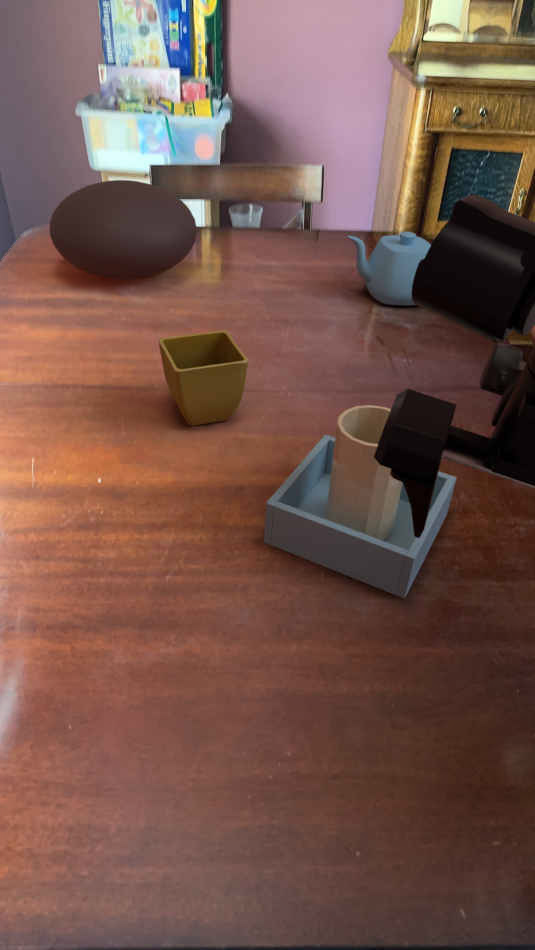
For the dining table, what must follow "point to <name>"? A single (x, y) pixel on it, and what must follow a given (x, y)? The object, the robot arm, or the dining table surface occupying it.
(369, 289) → the teapot
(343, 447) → the tumbler
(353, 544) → the tub
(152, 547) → the dining table surface
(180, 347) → the flower pot
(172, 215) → the smooth stone
